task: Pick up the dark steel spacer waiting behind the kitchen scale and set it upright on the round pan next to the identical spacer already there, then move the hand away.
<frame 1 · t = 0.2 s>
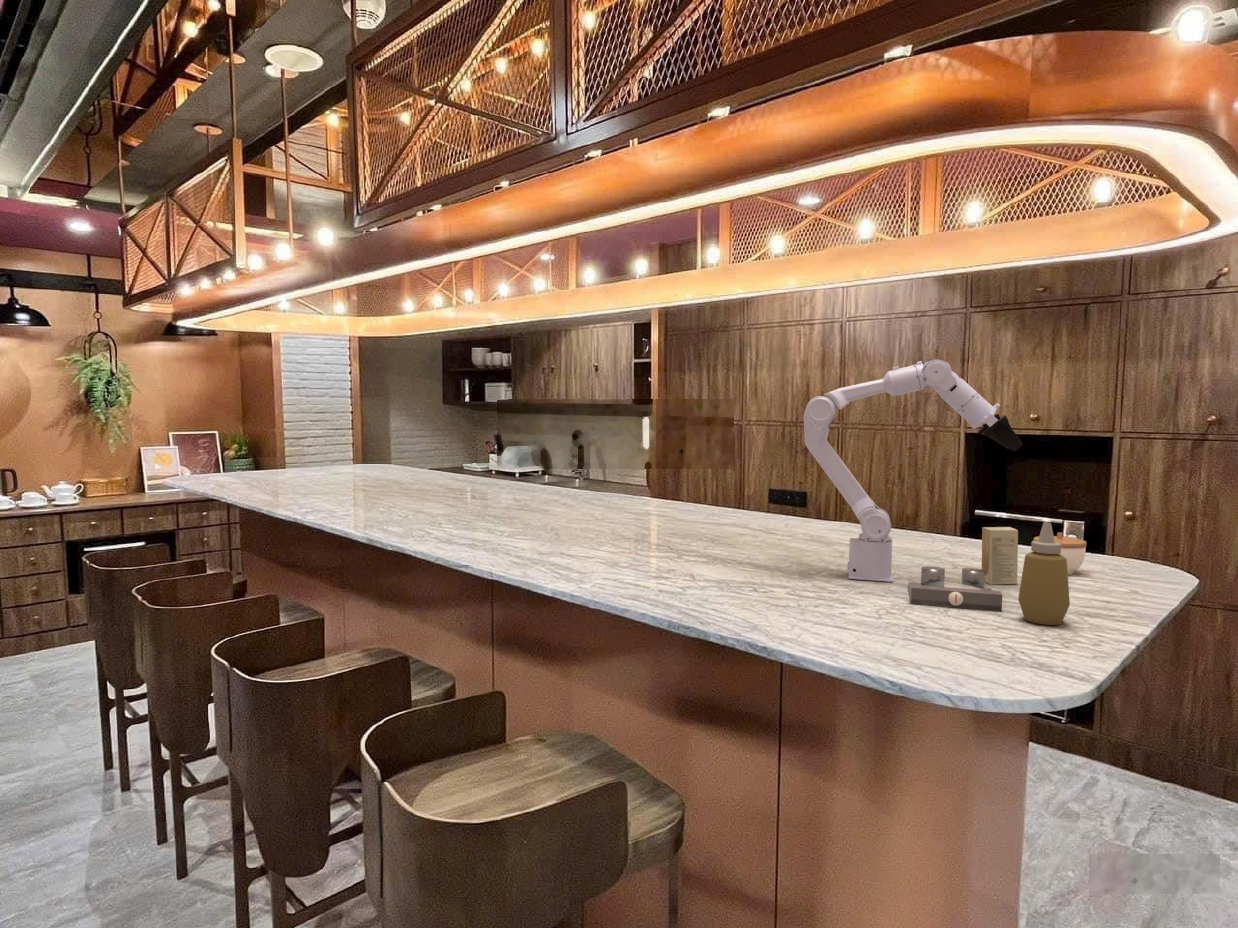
hand: (1015, 446, 153), 30 cm above the countertop, tool tilted 45°, fingers open, 7 cm apart
squeeze bottle: (1042, 622, 130), on the countertop
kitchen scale: (951, 598, 146), on the countertop
spacer a: (932, 587, 148), point 2 cm above the countertop, touching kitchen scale
spacer b: (972, 588, 155), on the countertop
lidded jar: (1058, 572, 171), on the countertop
skincare box: (998, 583, 160), on the countertop
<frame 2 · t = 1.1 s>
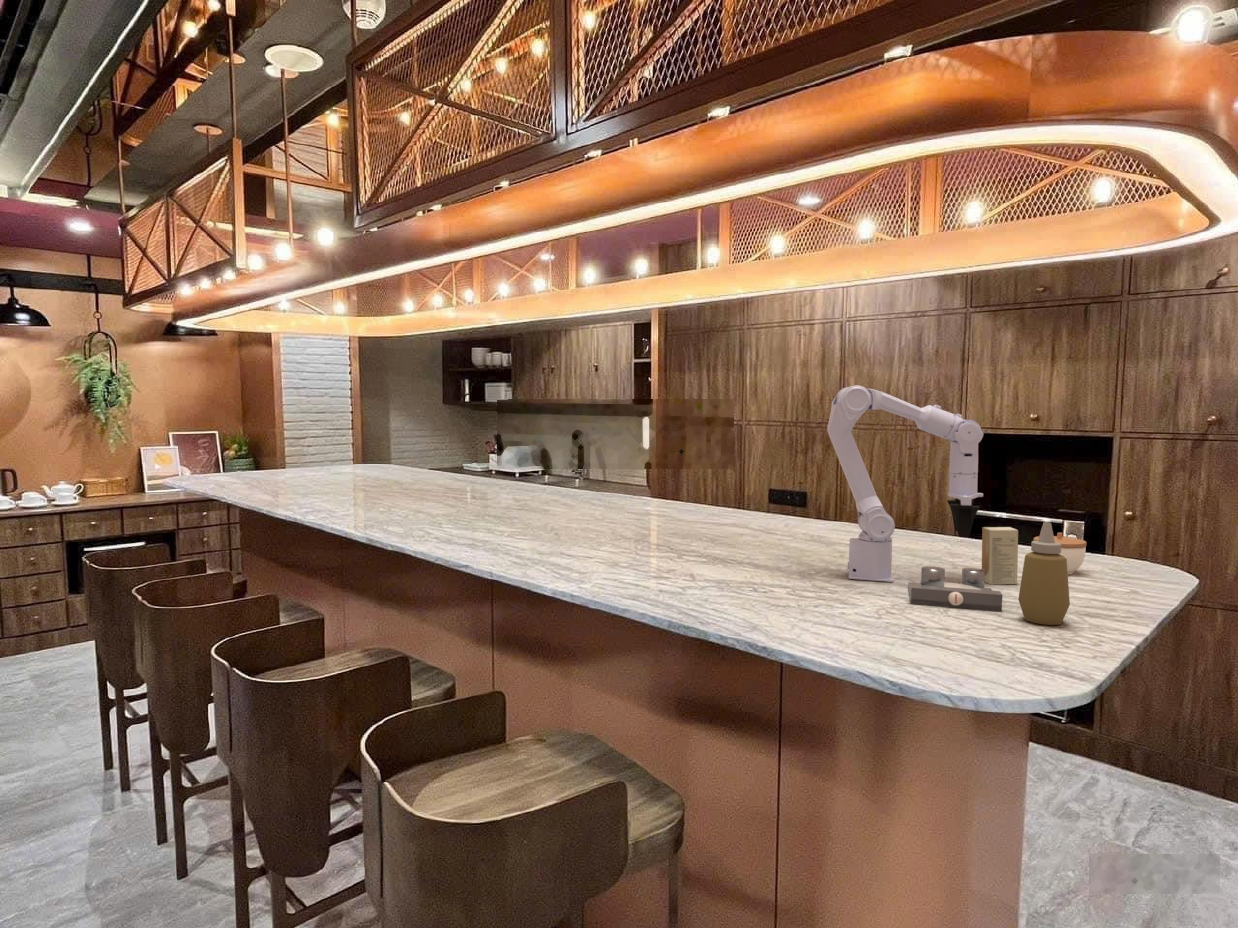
hand: (961, 533, 161), 11 cm above the countertop, tool pointing down, fingers open, 7 cm apart
nothing on the countertop moved.
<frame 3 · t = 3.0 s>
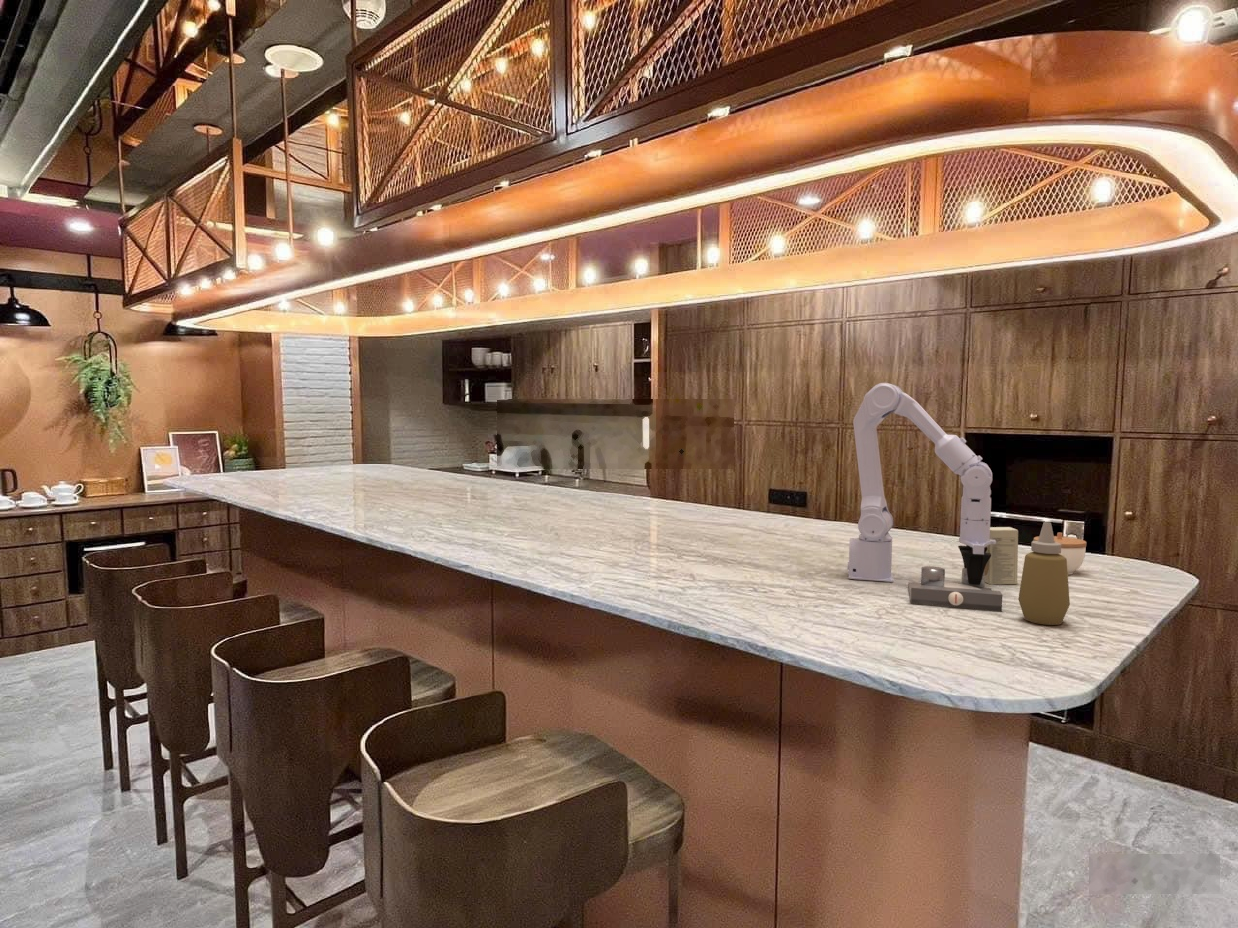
hand: (973, 581, 154), 1 cm above the countertop, tool pointing down, fingers closed on spacer b, 4 cm apart
spacer b: (972, 588, 155), on the countertop, touching gripper
everything else where it was.
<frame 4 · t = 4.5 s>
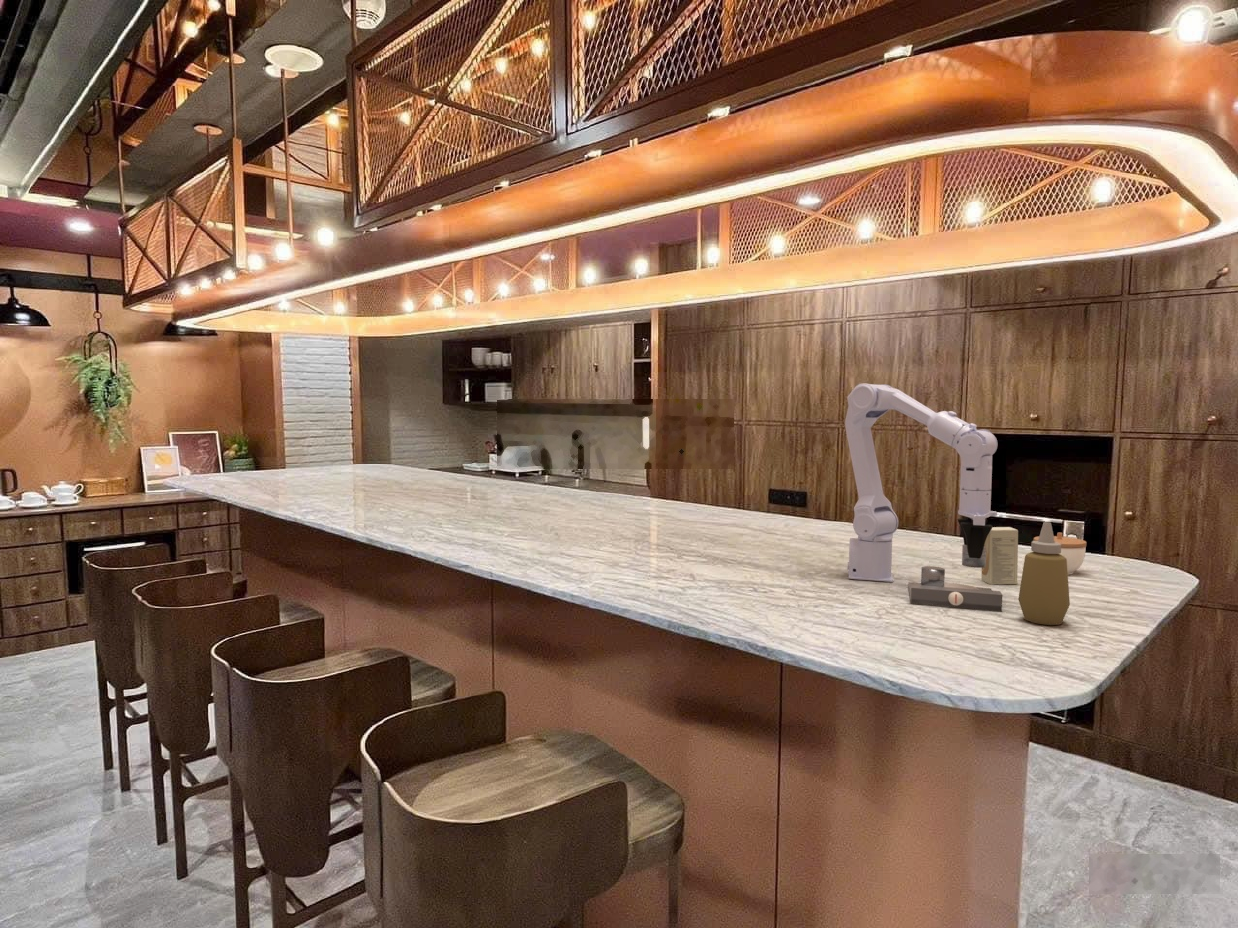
hand: (973, 555, 147), 8 cm above the countertop, tool pointing down, fingers closed on spacer b, 4 cm apart
spacer b: (973, 565, 147), point 6 cm above the countertop, touching gripper
everything else where it was.
when the fingers open (4 cm above the countertop, at t = 6.0 s): spacer b stays where it is, resting on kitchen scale.
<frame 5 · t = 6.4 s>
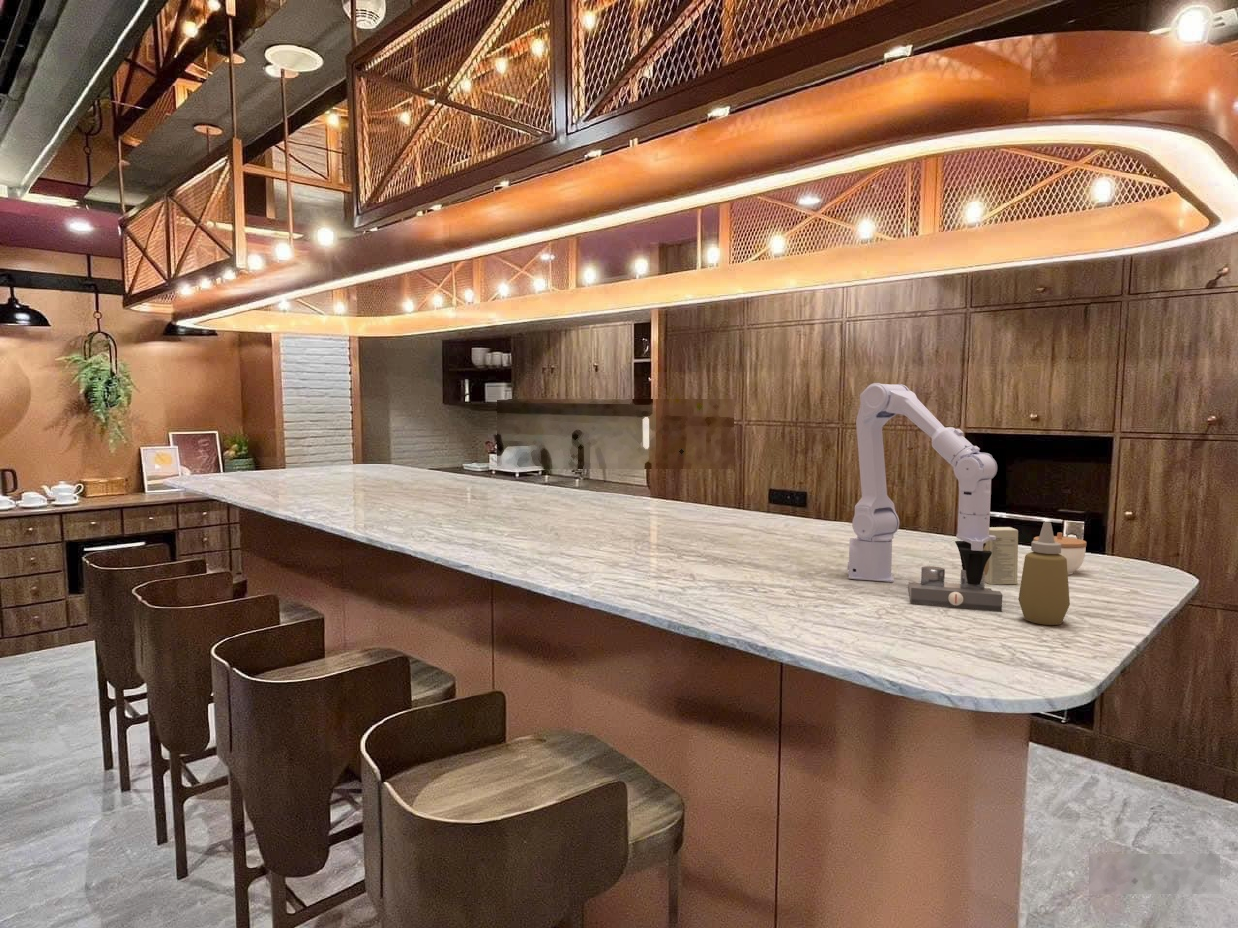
hand: (971, 579, 146), 4 cm above the countertop, tool pointing down, fingers open, 7 cm apart
spacer b: (972, 590, 146), point 2 cm above the countertop, touching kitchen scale
everything else where it was.
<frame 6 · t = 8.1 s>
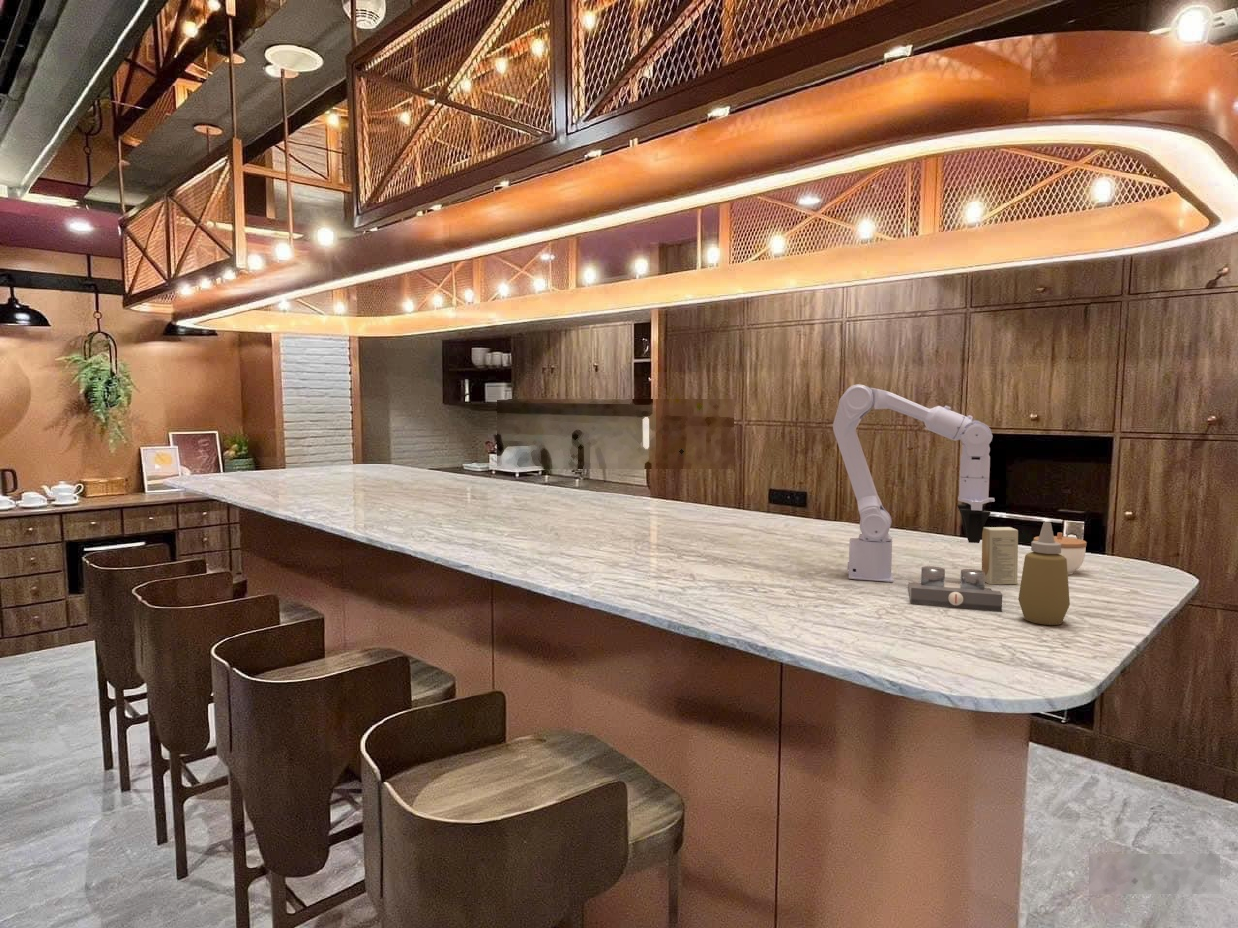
hand: (972, 539, 156), 10 cm above the countertop, tool pointing down, fingers open, 7 cm apart
nothing on the countertop moved.
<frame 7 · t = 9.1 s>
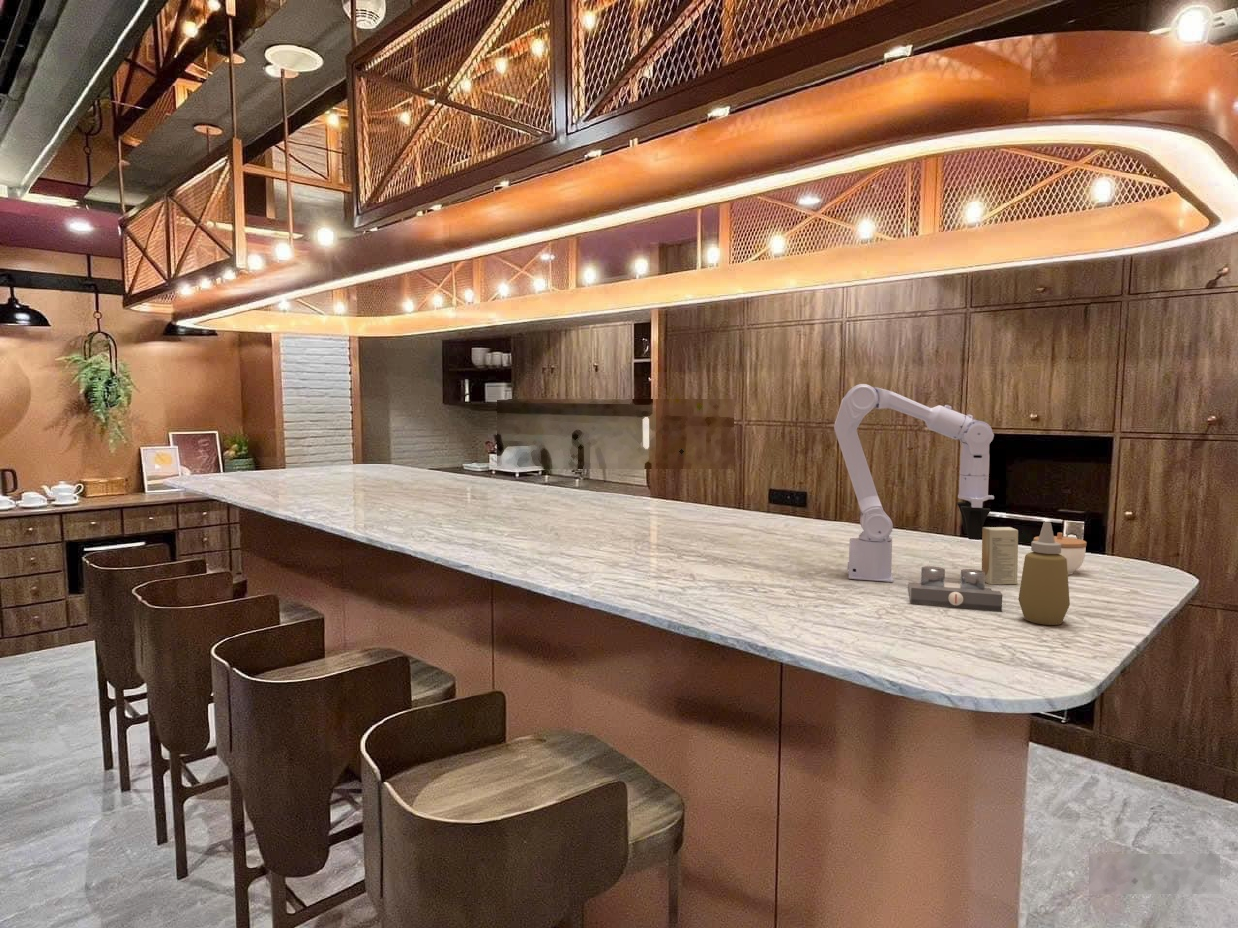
hand: (971, 536, 159), 10 cm above the countertop, tool pointing down, fingers open, 7 cm apart
nothing on the countertop moved.
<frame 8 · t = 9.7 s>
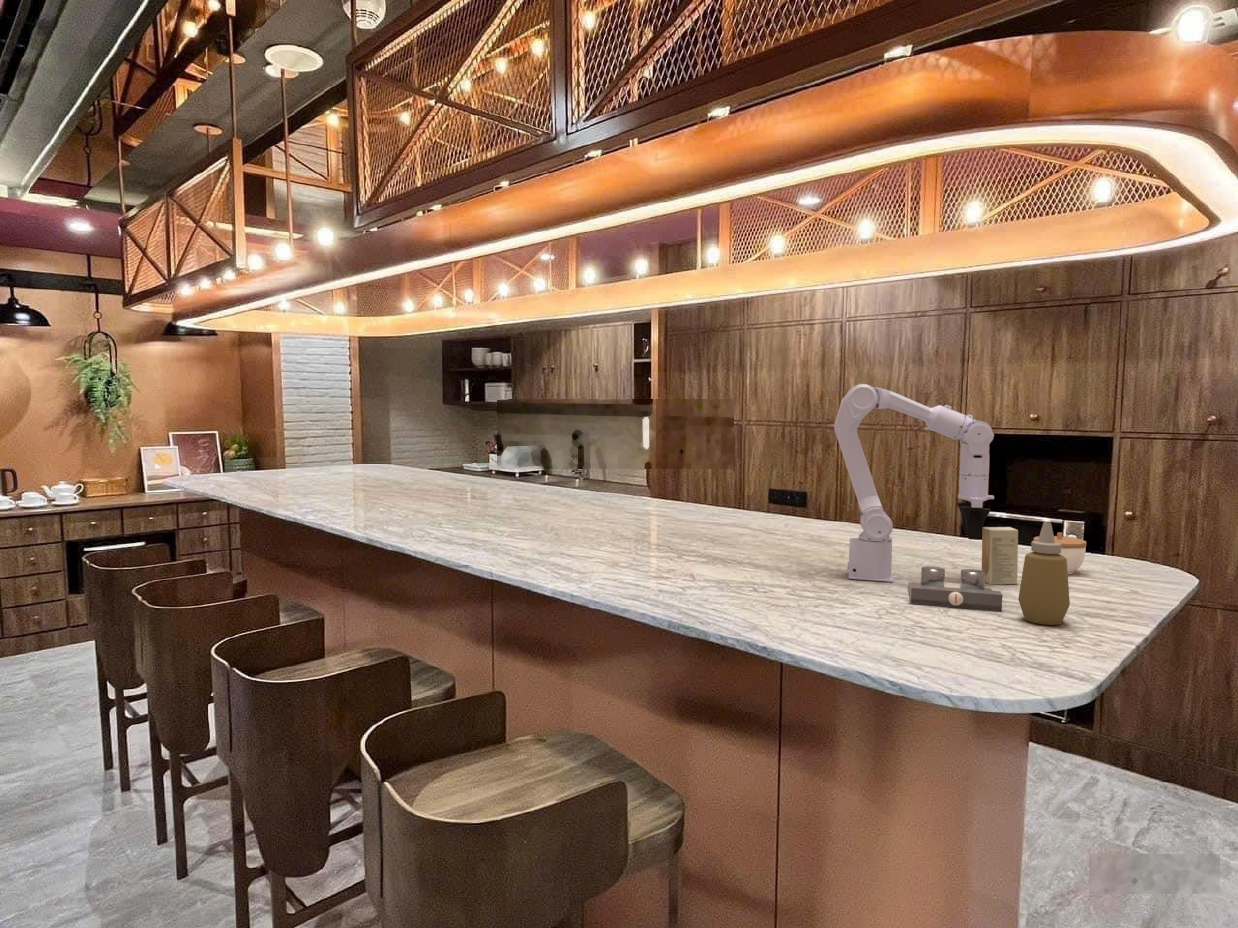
hand: (971, 536, 159), 10 cm above the countertop, tool pointing down, fingers open, 7 cm apart
nothing on the countertop moved.
at the end: spacer b inside the target area on the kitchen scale (0.2 cm from its centre), point 1.6 cm above the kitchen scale's base; spacer b tilted 0°; the gripper is holding nothing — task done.
